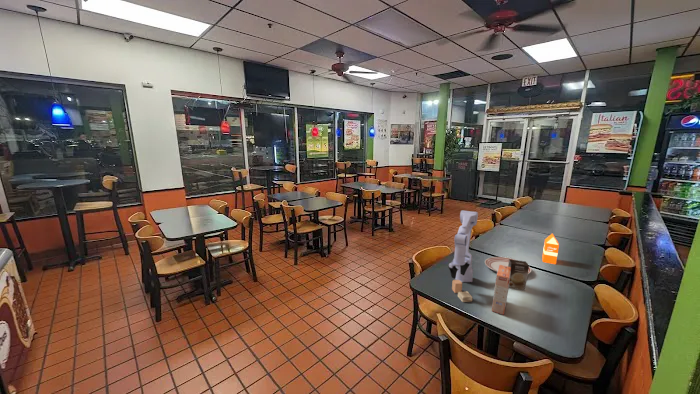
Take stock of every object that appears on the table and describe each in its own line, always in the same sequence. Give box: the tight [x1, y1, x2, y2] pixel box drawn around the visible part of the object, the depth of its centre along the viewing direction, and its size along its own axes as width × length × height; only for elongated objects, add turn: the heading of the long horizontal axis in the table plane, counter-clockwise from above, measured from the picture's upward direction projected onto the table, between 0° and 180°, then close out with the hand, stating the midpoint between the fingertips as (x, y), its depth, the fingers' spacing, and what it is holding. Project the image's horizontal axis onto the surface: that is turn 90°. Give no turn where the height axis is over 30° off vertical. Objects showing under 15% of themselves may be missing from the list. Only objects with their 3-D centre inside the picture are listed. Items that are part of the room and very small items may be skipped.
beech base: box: [457, 290, 473, 303], centre depth 148 cm, size 6×6×3 cm
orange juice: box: [541, 233, 560, 265], centre depth 192 cm, size 8×9×20 cm
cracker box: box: [491, 265, 511, 316], centre depth 139 cm, size 14×6×21 cm, turn 146°
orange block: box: [451, 279, 463, 294], centre depth 156 cm, size 4×4×6 cm
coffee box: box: [508, 258, 530, 291], centre depth 158 cm, size 9×6×16 cm
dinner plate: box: [484, 256, 532, 275], centre depth 182 cm, size 28×27×3 cm
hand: (457, 276), depth 154 cm, fingers open, 7 cm apart
